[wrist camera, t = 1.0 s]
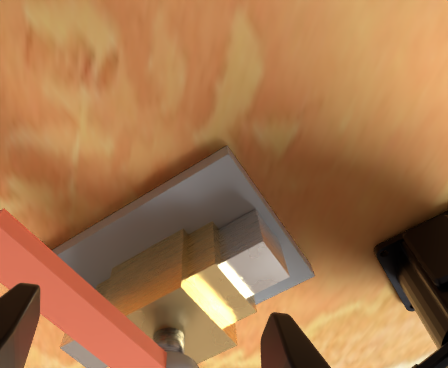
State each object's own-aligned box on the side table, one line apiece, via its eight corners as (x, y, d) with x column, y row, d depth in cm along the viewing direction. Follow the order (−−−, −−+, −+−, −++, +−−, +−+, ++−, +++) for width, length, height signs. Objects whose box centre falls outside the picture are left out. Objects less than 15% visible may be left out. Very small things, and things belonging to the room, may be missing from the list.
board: (310, 264, 26) (314, 276, 25) (134, 352, 29) (132, 364, 29) (227, 145, 22) (228, 154, 21) (28, 264, 25) (22, 275, 24)
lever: (211, 376, 20) (212, 396, 19) (160, 399, 20) (158, 420, 19) (17, 198, 14) (6, 214, 13) (-45, 238, 15) (-60, 257, 14)
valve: (287, 248, 25) (314, 338, 19) (115, 335, 28) (95, 436, 22) (244, 188, 22) (260, 271, 17) (62, 291, 25) (25, 390, 20)
